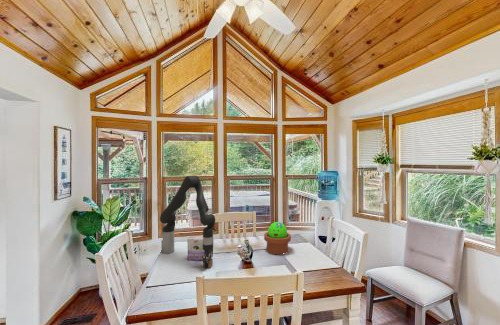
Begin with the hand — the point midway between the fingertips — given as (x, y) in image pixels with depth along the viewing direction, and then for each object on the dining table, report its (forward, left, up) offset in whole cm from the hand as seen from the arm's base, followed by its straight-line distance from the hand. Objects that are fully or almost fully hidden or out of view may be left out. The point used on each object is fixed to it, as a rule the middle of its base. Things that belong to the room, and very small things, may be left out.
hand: (207, 266), depth 176 cm
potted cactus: (+44, +42, -1) cm, 61 cm away
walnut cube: (0, 0, 0) cm, 0 cm away
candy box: (-13, +10, -1) cm, 16 cm away
